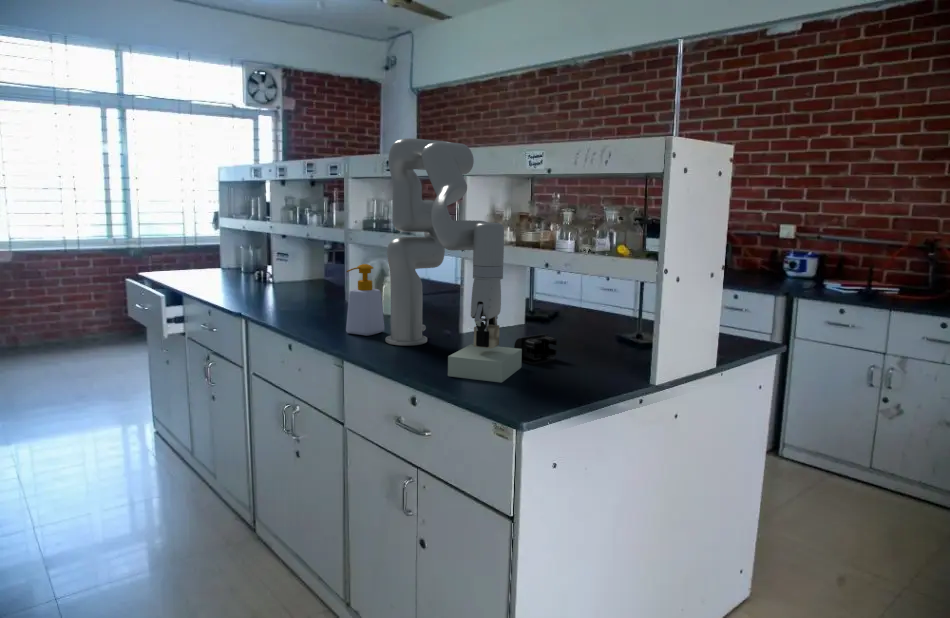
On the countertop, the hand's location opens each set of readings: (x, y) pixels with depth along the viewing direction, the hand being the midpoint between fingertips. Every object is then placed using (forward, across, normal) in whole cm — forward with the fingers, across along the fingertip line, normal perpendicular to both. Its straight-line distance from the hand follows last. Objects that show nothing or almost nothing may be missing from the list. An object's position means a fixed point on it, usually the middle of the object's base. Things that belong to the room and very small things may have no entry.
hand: (486, 343), depth 169 cm
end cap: (+8, -18, +8) cm, 21 cm away
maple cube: (+1, 0, 0) cm, 1 cm away
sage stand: (+7, 0, 0) cm, 7 cm away
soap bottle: (+7, -27, -52) cm, 59 cm away
